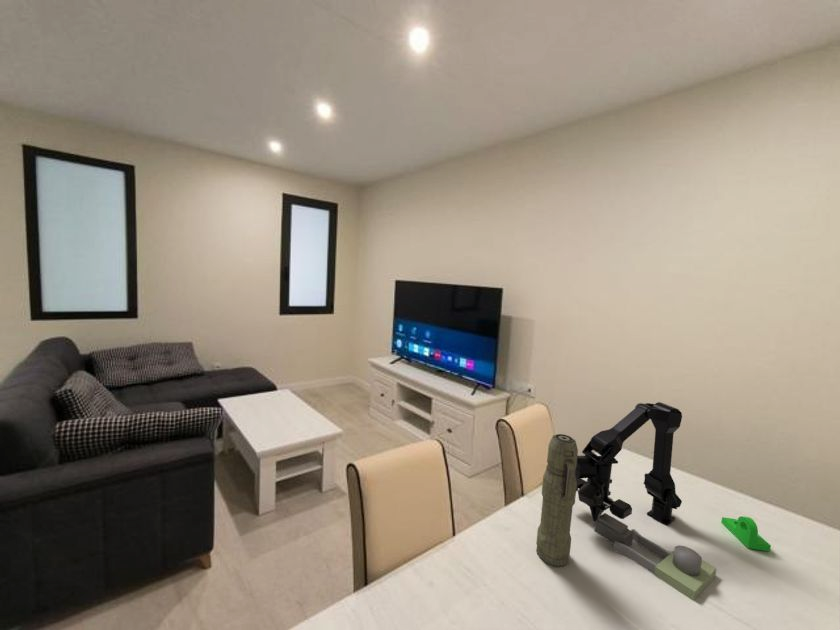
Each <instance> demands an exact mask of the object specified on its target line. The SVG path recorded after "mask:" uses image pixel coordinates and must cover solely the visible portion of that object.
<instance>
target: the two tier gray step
mask: <svg viewBox="0 0 840 630" xmlns="http://www.w3.org/2000/svg"><path fill="white" fill-rule="evenodd" d="M594 522H595V523H594V531H593V532H594V533H596V534H598V535H599V536H601V537H603V538H604V539H605V540H606V541H609V542H610V543H611V544H613V545H614V541H616V542H619V543H622V544H624V545H626V546H628V547H630V546H631V545H632V544H633V531H631V529H629V526H628V524H626V523H624V522H622V521H620V520H618V519H616V518H615V517H614V516H611V515H609V514H607V513H606V512H603V513H602V515H601V516H599V517H598V519H597V520H596V521H594Z"/></svg>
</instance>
